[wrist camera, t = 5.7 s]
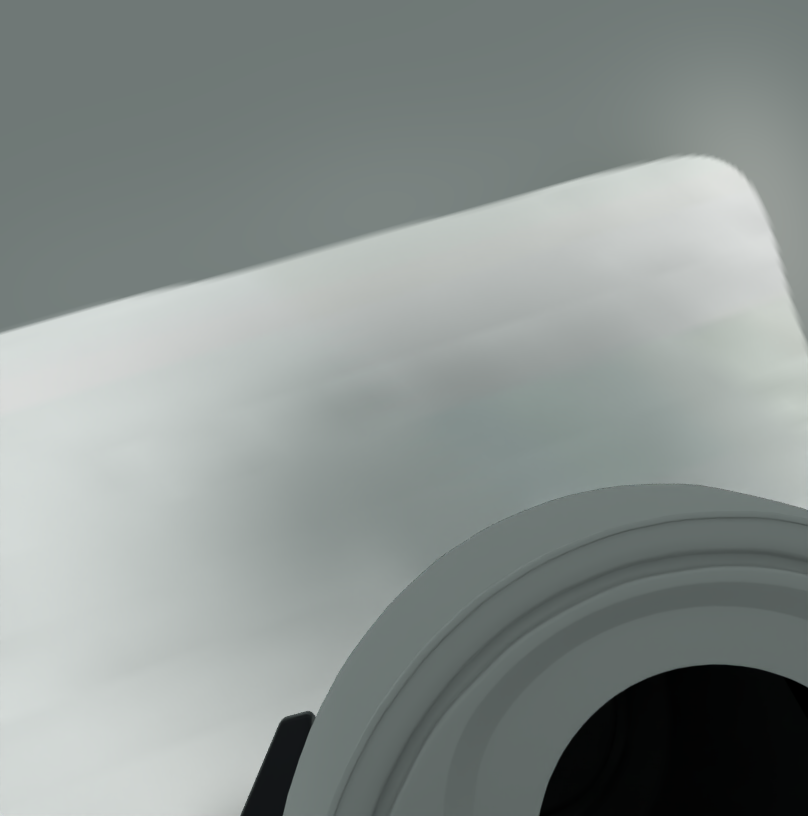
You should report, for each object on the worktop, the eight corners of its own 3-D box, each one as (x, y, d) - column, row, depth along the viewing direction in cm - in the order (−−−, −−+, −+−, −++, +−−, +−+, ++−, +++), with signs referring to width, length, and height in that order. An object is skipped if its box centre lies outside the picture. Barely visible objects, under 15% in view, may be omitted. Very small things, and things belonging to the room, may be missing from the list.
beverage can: (599, 521, 16) (1033, 331, 5) (707, 812, 15) (1814, 1654, 3) (340, 600, 16) (118, 605, 4) (420, 908, 14) (401, 2259, 3)
